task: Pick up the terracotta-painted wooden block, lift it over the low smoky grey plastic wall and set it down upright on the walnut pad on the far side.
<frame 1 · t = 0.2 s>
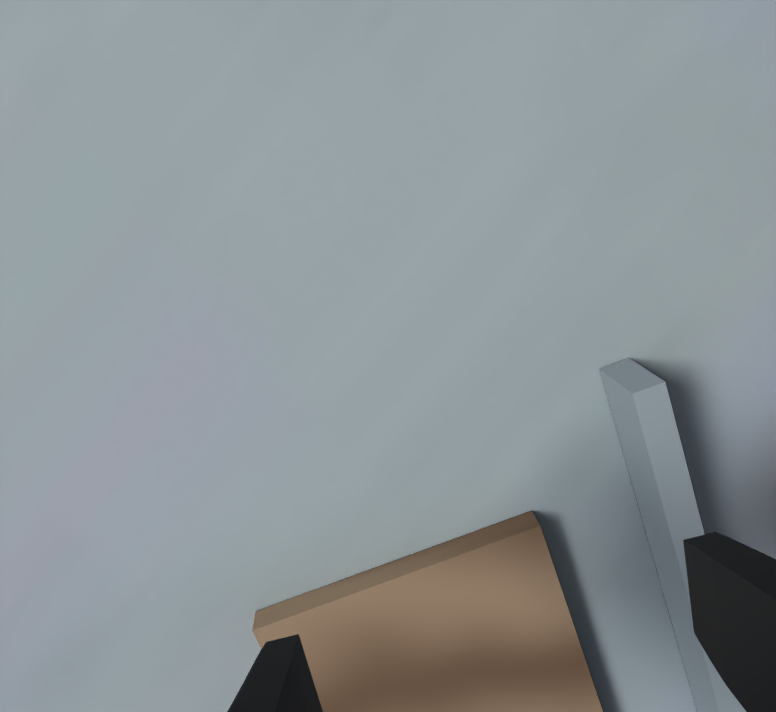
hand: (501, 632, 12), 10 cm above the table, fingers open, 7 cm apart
low wall: (683, 611, 25), on the table
walnut pad: (440, 674, 24), on the table
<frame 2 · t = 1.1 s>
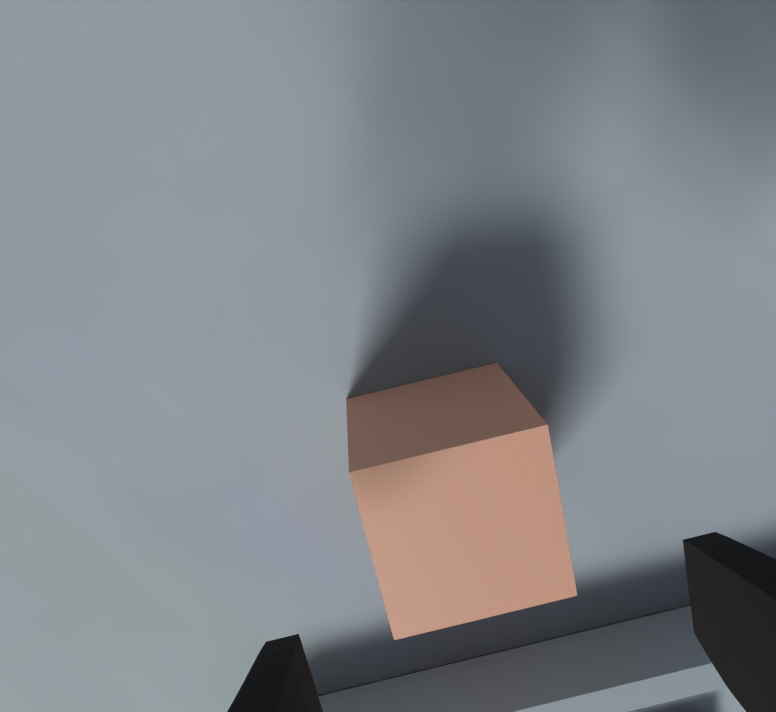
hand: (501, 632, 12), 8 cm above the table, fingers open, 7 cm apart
terracotta block: (437, 449, 20), on the table
low wall: (574, 646, 22), on the table
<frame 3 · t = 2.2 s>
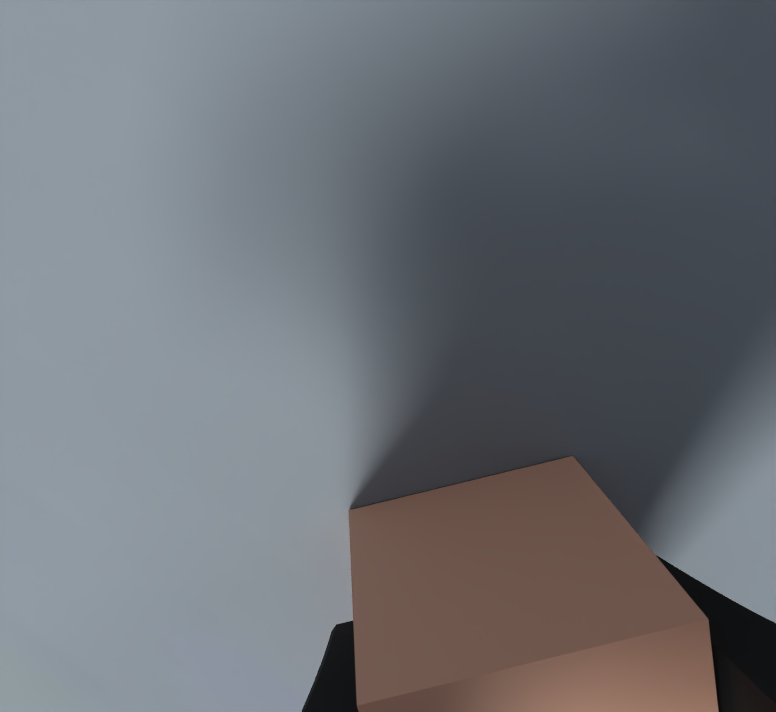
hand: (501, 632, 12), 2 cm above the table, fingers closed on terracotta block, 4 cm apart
terracotta block: (482, 580, 14), on the table, touching gripper
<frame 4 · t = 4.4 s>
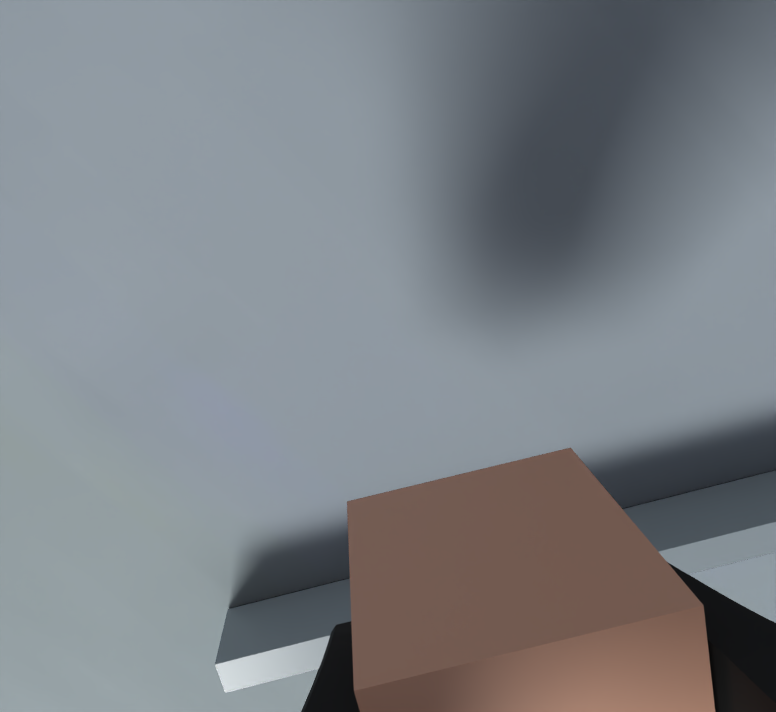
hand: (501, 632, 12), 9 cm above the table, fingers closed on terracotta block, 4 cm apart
terracotta block: (480, 572, 14), point 7 cm above the table, touching gripper
low wall: (534, 545, 22), on the table
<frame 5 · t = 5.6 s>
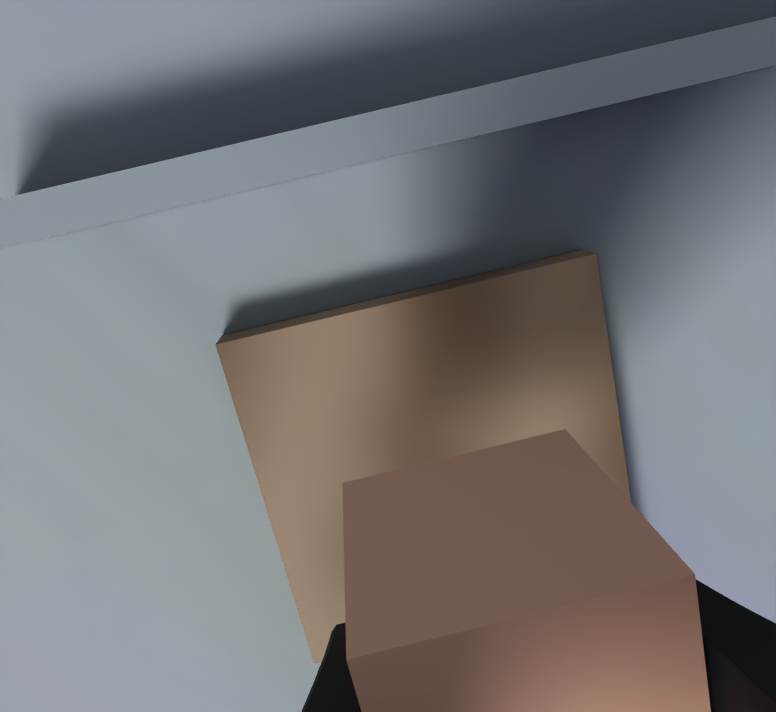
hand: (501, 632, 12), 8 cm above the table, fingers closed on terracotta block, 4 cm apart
terracotta block: (475, 554, 14), point 6 cm above the table, touching gripper
low wall: (407, 131, 17), on the table
walnut pad: (440, 458, 20), on the table
when the fingers open (4 cm above the table, at t = 6.7 s): terracotta block drops 1 cm, resting on walnut pad.
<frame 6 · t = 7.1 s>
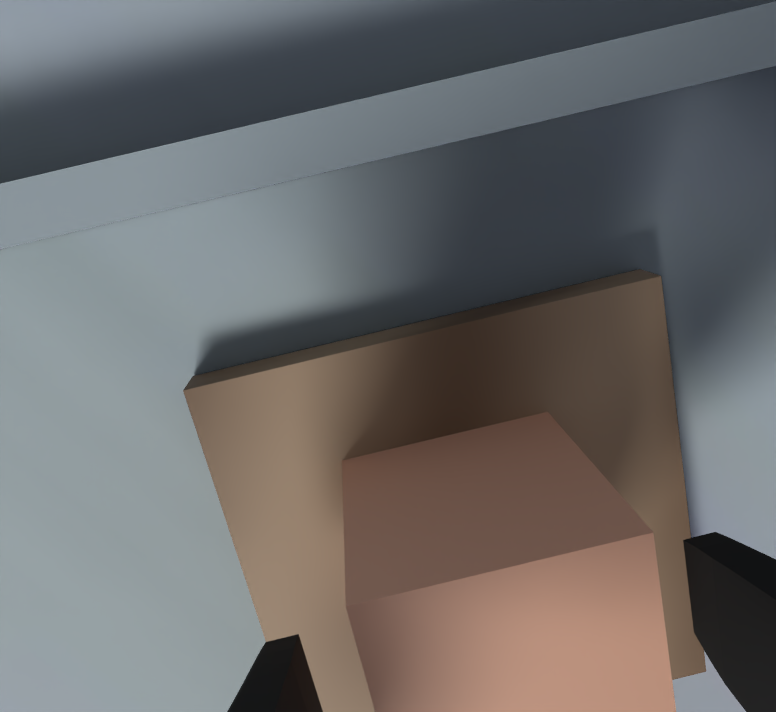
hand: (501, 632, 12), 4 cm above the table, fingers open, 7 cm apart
terracotta block: (464, 527, 15), point 1 cm above the table, touching walnut pad
low wall: (424, 122, 14), on the table
walnut pad: (461, 521, 16), on the table
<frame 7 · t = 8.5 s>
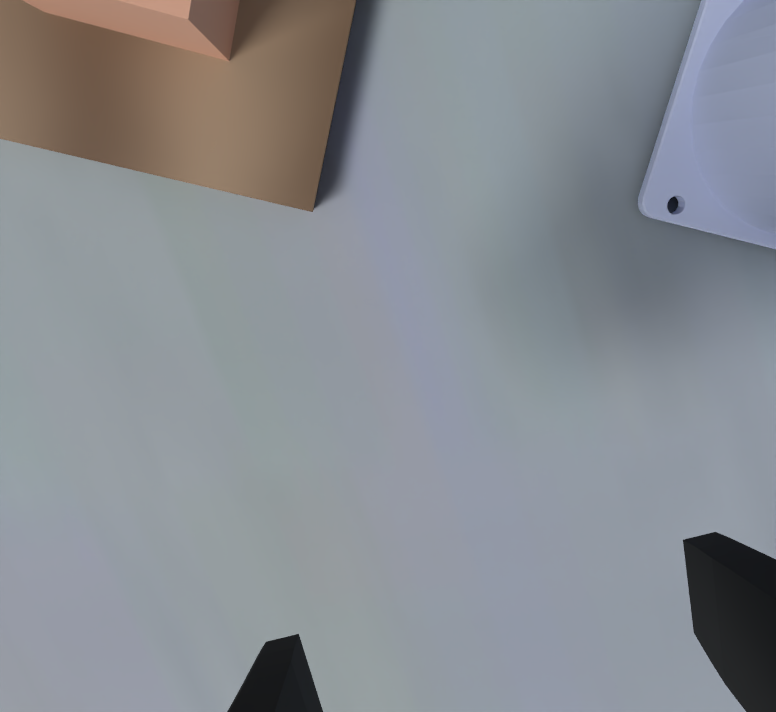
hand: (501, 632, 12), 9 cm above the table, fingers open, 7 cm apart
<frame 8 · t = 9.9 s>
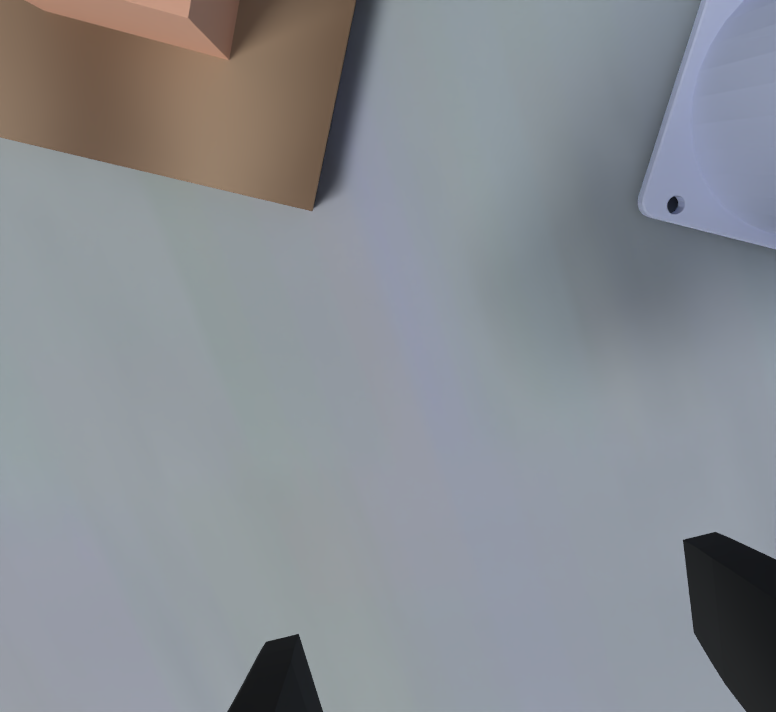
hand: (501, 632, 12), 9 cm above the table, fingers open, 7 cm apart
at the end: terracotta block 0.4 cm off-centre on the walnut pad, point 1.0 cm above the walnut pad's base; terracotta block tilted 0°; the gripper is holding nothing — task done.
